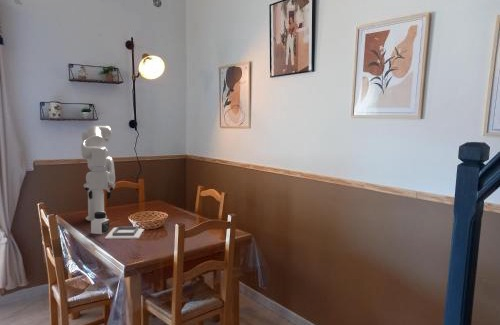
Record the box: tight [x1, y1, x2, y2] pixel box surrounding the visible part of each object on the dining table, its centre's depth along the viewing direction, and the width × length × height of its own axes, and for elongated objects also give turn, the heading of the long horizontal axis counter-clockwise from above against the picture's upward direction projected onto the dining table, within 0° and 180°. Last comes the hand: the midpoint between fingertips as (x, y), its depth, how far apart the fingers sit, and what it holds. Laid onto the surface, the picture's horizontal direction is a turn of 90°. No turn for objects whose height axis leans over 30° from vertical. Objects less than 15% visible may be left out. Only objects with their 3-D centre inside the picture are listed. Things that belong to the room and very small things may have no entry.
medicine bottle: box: [90, 211, 110, 235], centre depth 198 cm, size 7×7×12 cm
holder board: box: [104, 226, 145, 240], centre depth 197 cm, size 18×18×2 cm
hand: (99, 198), depth 196 cm, fingers open, 9 cm apart
